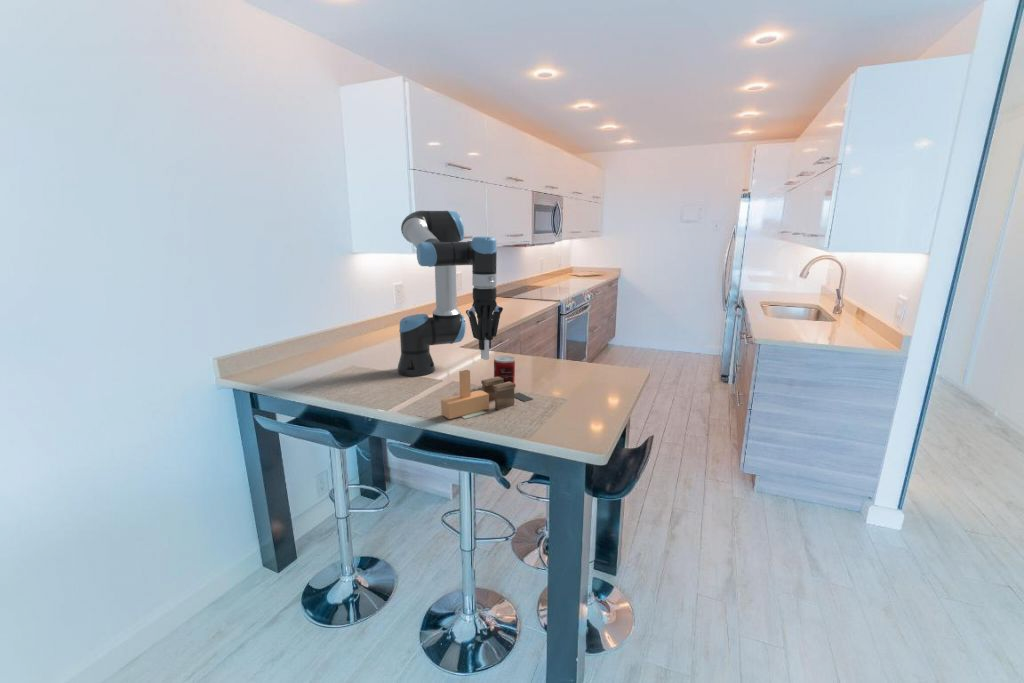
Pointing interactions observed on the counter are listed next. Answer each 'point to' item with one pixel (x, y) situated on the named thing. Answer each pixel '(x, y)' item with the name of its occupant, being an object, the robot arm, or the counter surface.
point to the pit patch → (522, 397)
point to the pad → (473, 414)
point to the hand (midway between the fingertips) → (485, 358)
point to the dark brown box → (499, 391)
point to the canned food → (505, 368)
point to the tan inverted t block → (464, 399)
